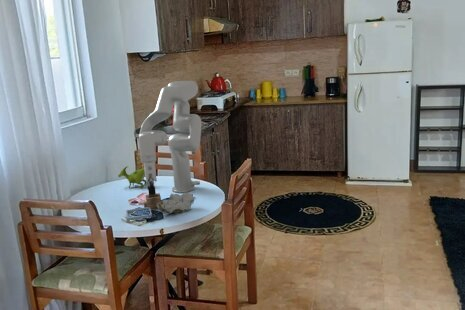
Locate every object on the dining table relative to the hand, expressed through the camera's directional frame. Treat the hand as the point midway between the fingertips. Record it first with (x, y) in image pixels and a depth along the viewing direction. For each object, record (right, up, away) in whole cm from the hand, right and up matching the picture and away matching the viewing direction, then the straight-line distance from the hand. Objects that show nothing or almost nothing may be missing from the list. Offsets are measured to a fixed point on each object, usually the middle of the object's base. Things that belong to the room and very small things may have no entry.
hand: (151, 192), depth 227 cm
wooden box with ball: (+1, -8, +3) cm, 8 cm away
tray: (-4, -11, -9) cm, 15 cm away
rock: (+14, -9, -5) cm, 17 cm away
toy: (-16, 0, +42) cm, 45 cm away
